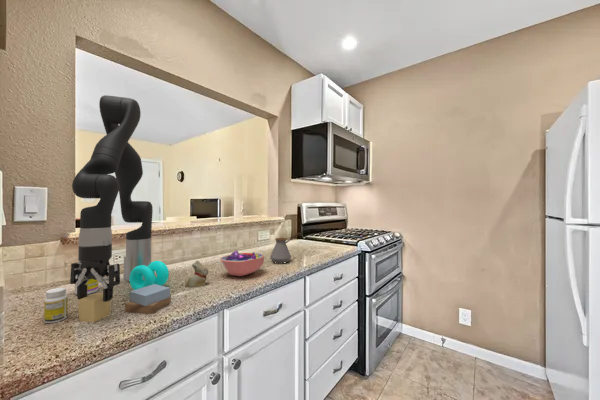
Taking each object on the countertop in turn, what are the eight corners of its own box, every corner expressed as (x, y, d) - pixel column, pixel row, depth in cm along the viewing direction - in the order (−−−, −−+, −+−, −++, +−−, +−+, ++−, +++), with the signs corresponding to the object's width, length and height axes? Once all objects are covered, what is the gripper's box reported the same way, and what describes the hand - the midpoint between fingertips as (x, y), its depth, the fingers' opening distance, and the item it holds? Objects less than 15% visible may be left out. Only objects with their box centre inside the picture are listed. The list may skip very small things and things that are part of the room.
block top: (78, 320, 71) (79, 299, 71) (95, 313, 76) (96, 293, 76) (93, 322, 70) (94, 300, 70) (110, 314, 75) (110, 294, 75)
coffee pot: (280, 265, 133) (280, 237, 133) (265, 261, 140) (266, 234, 140) (306, 259, 148) (307, 233, 148) (292, 256, 156) (293, 231, 156)
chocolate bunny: (201, 288, 98) (201, 262, 98) (183, 286, 100) (183, 261, 100) (209, 283, 104) (209, 259, 104) (192, 282, 105) (192, 258, 105)
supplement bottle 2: (102, 290, 95) (103, 256, 95) (82, 296, 88) (82, 259, 88) (90, 288, 97) (90, 254, 97) (70, 294, 91) (70, 258, 91)
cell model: (271, 275, 115) (271, 250, 115) (227, 283, 104) (227, 256, 104) (255, 267, 129) (255, 245, 129) (215, 273, 118) (215, 249, 118)
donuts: (127, 292, 93) (127, 265, 93) (150, 283, 103) (150, 259, 103) (149, 295, 90) (149, 267, 90) (170, 286, 100) (170, 260, 100)
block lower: (124, 314, 77) (125, 304, 77) (145, 302, 86) (145, 293, 86) (153, 315, 76) (153, 305, 76) (170, 303, 85) (171, 294, 85)
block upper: (129, 301, 79) (129, 291, 79) (154, 292, 86) (154, 283, 86) (145, 306, 75) (145, 295, 75) (169, 296, 82) (169, 287, 82)
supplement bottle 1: (54, 315, 74) (54, 287, 74) (71, 315, 74) (72, 286, 74) (39, 324, 69) (39, 293, 69) (57, 323, 69) (57, 292, 69)
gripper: (61, 244, 71) (60, 303, 70) (104, 246, 68) (103, 306, 68) (87, 240, 78) (86, 293, 78) (128, 242, 76) (127, 296, 75)
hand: (94, 299), depth 73 cm, fingers open, 8 cm apart
